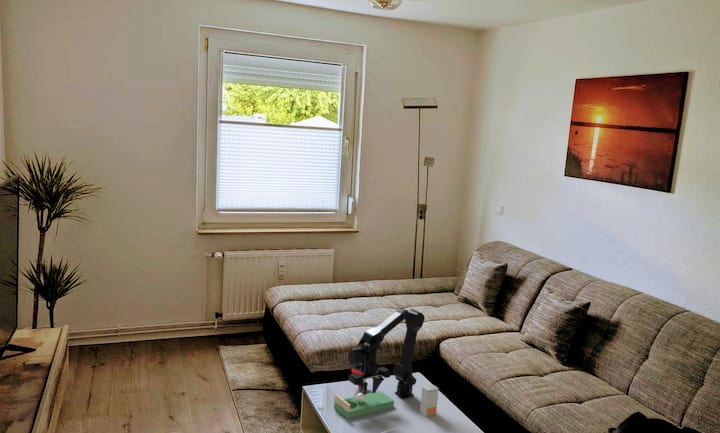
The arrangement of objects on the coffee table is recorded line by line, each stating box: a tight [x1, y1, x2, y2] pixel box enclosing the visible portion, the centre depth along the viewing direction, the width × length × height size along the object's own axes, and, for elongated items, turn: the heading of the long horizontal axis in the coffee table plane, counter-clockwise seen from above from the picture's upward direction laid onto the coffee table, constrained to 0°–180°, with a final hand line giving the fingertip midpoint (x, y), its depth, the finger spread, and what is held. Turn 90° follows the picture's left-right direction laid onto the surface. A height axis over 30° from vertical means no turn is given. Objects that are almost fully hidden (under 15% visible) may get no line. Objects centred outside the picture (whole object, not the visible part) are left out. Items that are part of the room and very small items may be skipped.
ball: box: [356, 392, 366, 402], centre depth 244 cm, size 4×4×4 cm
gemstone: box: [350, 367, 363, 388], centre depth 264 cm, size 9×9×10 cm
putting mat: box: [333, 390, 395, 420], centre depth 245 cm, size 24×11×6 cm, turn 124°
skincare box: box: [419, 384, 440, 417], centre depth 243 cm, size 6×4×12 cm
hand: (368, 394), depth 246 cm, fingers open, 5 cm apart
